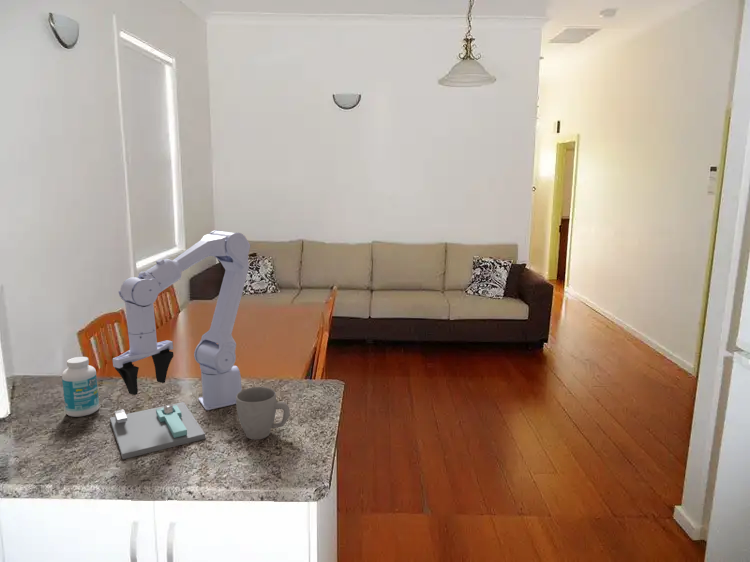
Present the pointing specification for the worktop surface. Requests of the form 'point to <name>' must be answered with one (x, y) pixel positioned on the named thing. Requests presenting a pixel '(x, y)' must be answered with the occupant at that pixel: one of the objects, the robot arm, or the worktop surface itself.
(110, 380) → the worktop surface
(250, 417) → the mug
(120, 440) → the board
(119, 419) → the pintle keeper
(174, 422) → the link
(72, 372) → the pill bottle
